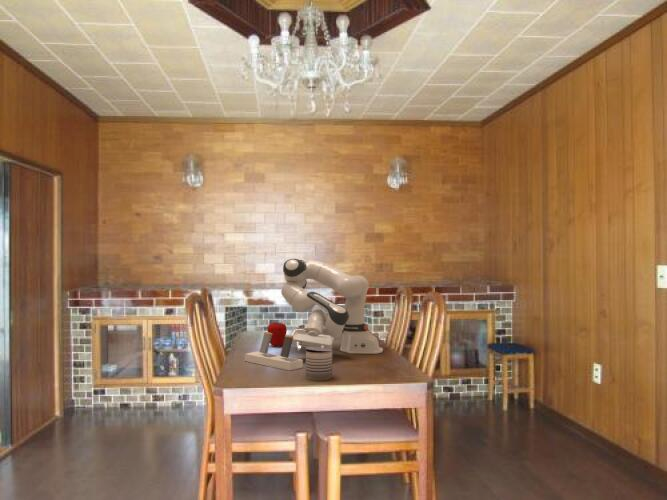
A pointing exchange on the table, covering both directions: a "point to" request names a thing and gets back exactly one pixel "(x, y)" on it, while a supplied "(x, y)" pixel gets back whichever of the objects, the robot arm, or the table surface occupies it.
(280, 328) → the red rounded lump
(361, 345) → the robot arm
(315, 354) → the can
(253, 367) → the table surface
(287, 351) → the black rocker
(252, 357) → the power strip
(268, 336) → the grey rocker
